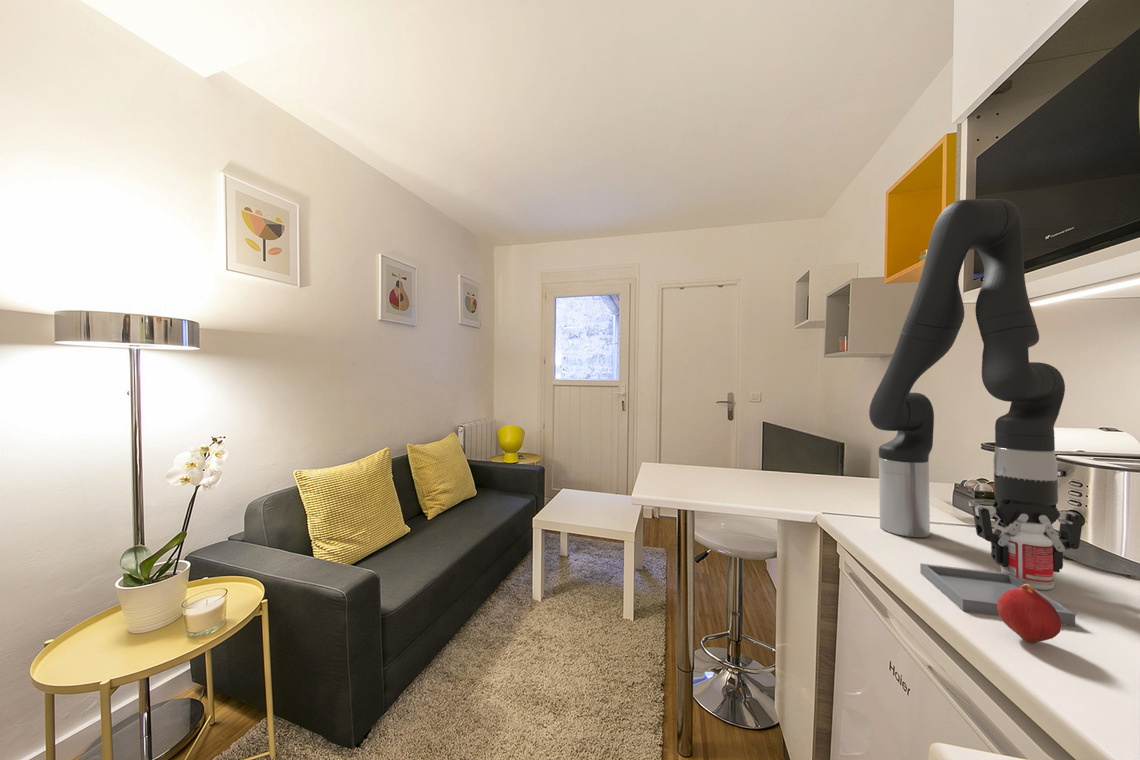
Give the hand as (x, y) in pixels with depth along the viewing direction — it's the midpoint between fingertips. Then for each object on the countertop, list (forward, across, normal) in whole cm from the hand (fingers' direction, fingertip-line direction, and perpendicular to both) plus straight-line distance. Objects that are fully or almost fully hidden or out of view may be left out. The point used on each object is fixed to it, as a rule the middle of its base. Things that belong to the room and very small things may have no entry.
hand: (1026, 567), depth 71 cm
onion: (+3, +12, +21) cm, 24 cm away
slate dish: (+3, +10, +8) cm, 13 cm away
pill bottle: (+3, 0, 0) cm, 3 cm away
